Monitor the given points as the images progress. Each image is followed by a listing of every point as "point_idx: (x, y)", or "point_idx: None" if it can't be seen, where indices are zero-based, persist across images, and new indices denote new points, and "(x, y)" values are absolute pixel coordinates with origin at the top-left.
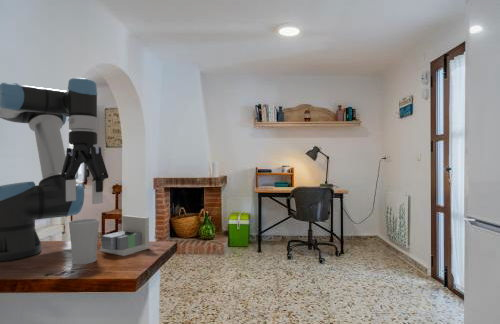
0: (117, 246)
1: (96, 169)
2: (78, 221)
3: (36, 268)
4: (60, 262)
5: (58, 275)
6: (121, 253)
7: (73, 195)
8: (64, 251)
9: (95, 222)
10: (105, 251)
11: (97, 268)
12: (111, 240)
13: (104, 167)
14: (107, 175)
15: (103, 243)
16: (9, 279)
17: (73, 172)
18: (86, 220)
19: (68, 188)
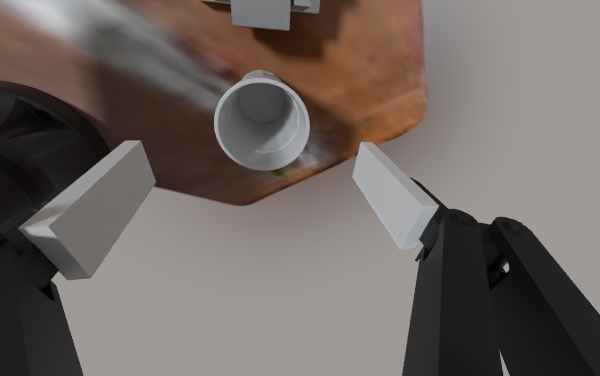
0: (291, 8)
1: (496, 316)
2: (220, 123)
3: (224, 166)
4: None
5: (298, 166)
6: (306, 12)
7: (132, 167)
8: (103, 59)
9: (308, 117)
10: (227, 3)
11: (330, 116)
12: (288, 30)
13: (571, 299)
14: (527, 235)
15: (244, 26)
16: (248, 204)
17: (45, 324)
18: (227, 98)
19: (121, 221)
